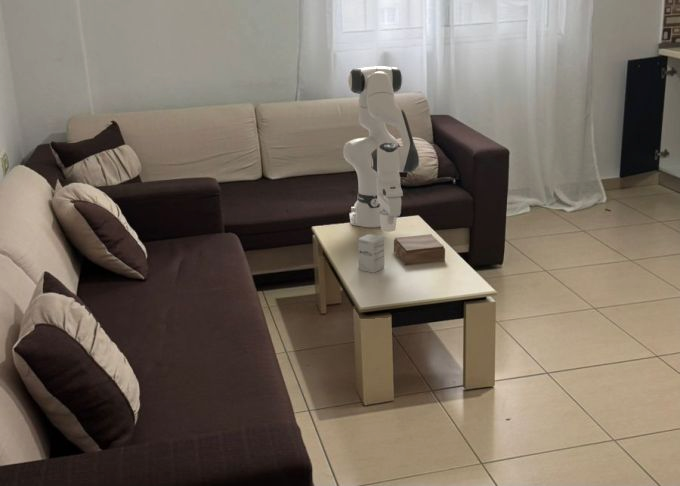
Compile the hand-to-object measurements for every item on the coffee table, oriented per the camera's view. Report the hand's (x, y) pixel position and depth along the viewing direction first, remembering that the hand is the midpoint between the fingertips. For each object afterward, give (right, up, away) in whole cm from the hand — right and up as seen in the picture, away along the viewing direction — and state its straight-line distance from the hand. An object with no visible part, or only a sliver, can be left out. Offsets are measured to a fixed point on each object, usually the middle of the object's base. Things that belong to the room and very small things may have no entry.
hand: (388, 220), depth 332 cm
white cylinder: (0, -3, +1) cm, 4 cm away
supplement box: (-7, -19, -1) cm, 20 cm away
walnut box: (+13, -14, +10) cm, 21 cm away
